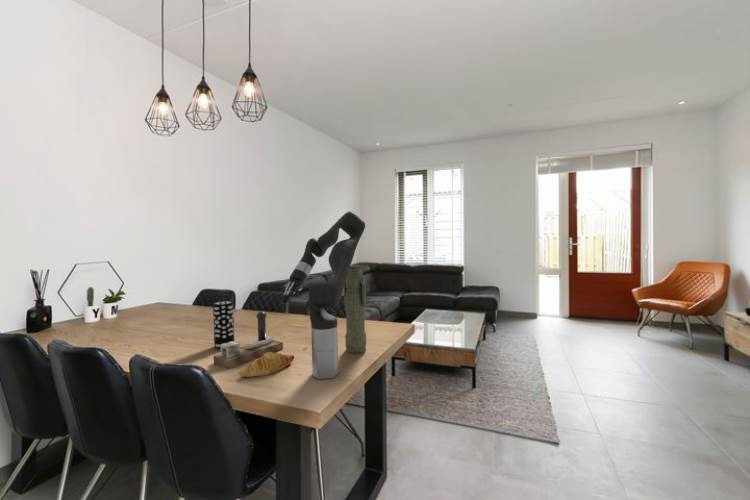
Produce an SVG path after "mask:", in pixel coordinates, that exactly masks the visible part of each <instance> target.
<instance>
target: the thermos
mask: <svg viewBox="0 0 750 500" xmlns="http://www.w3.org/2000/svg"><path fill="white" fill-rule="evenodd" d="M343 301H344V311H345V319H346V321H345V322H346V324H345V325H346V328H345V329H346V332H345V335H344V336H345V339H344V340H345V351H346V353H347V354H350V355H359V354H360V355H361V354H363V353H366V351H367V348H366V347H367V333H366V331H365V330H366V329H365V328H366V327H365V326H366V323H365V319H366V318H365V312H366V305H367V302H368V301H367V283H366V281H365V280H364V274H363V271H362V270H361V269H360V268H353V269H352V268H351V269H350V268H349V270H348V273H347V276H346V280H345V284H344V288H343Z"/></svg>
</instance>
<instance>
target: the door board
mask: <svg viewBox="0 0 750 500" xmlns="http://www.w3.org/2000/svg"><path fill="white" fill-rule="evenodd" d="M273 340H274V341H273V342H270V343H267V344H264V345H261V346H258V347H255V348H252V349H247V348H246V345H243V346H241V347H240V343H239V342H235V341H234V342H233V341H231V342H228V343H224V344H221V345H220V347H221V349H220V353H219V354H215V355H213V364H214V365H217V366H220V367H223V368H225V369H232V368H234V367H238V366H240V365H243V364H245V363H248V362H251V361H255V360H256V359H258V358H261V356H262V355H264V354H265V353H268V352H276V353H277V352H278V351H281V350H283V349H284V342H283V341H280V340H275V339H273Z"/></svg>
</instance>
